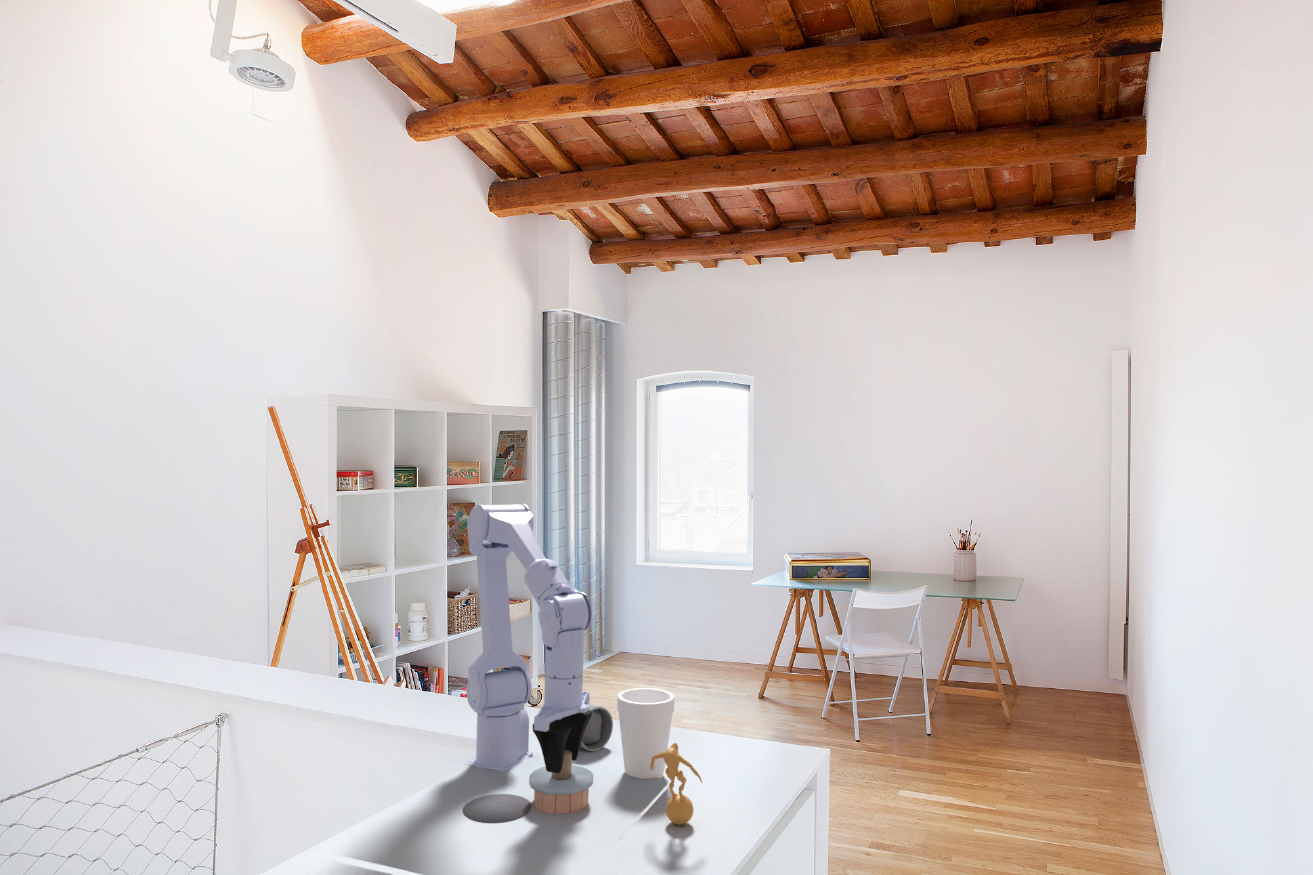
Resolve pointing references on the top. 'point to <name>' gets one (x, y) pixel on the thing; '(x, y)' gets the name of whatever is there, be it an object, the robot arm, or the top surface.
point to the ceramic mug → (597, 729)
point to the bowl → (561, 802)
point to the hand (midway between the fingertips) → (561, 765)
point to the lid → (562, 778)
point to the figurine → (679, 805)
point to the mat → (497, 808)
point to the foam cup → (644, 729)
